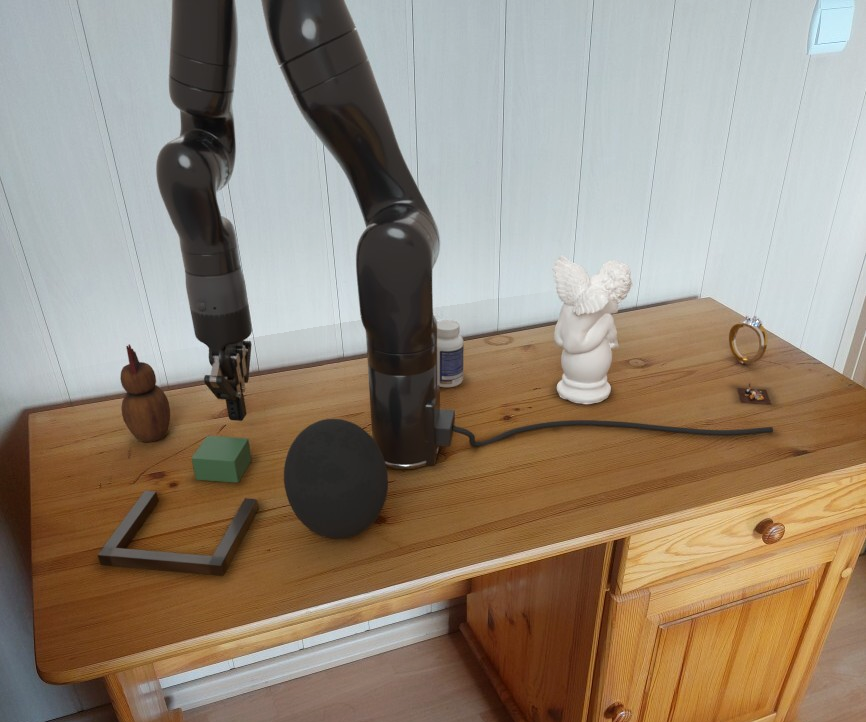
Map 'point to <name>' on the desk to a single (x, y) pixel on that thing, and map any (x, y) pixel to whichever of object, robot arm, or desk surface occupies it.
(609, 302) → the cherub figurine
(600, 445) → the desk surface
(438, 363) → the pill bottle
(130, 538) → the frame
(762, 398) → the diorama
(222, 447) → the green block
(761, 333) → the ring
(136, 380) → the wooden figurine
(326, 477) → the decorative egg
